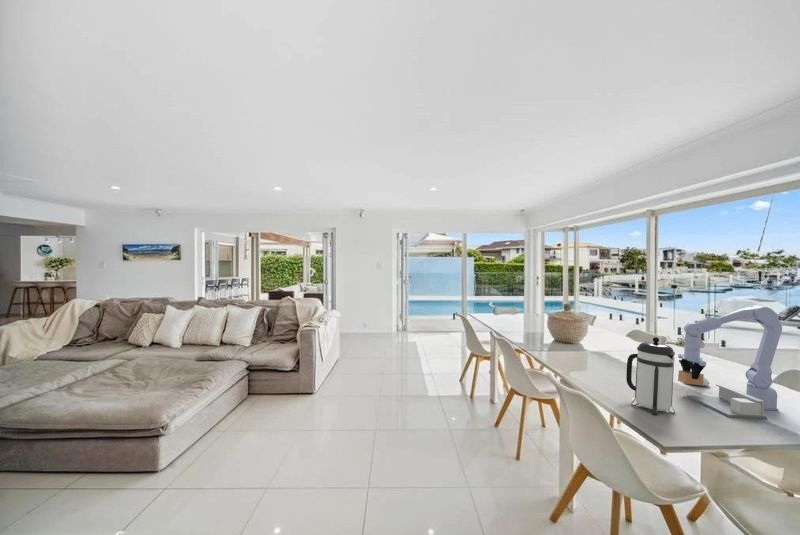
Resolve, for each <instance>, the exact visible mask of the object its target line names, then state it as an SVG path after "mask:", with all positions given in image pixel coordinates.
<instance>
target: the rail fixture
mask: <svg viewBox="0 0 800 535" xmlns="http://www.w3.org/2000/svg"><path fill="white" fill-rule="evenodd" d="M715 386H716V387H718V396H714V395H713V396H711V395H710V396H709V395H694V394H693V395H692V394H686V398H687V397H688V399H689V400H692V401H694V402H696V403H698V404H700V405H702V406H704V407H706V408H709V409H710V410H713V411H715V412H717V413H718V414H721V415H722V416H725V417H727V418H734V419H735V418H736V419H751V420H753V419H754V420H768V416H766V415H764V414H765V409H764V401H763V400H760V399H758V398H755V397H753V396H750V395H747V394H746V392H745V393H744V392H742V391H740V390H736V389H735V388H731V387H729V386H726V385H724V384H719V383H716V384H715Z"/></svg>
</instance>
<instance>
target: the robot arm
mask: <svg viewBox="0 0 800 535" xmlns="http://www.w3.org/2000/svg"><path fill="white" fill-rule="evenodd" d="M741 319H748V320H755V321H757V322H758V323H759V324H760V326H762V327H763V332H762V336H761V340H760V343H759V346H758V349H757V352H756V355H755V358H754V362H753V363H752V364H751V365H750V367H749V369H747V370H746V371H745V377H746V380H748V381H747V382H746V390H745V391H746V392H745V394H747V395H750V396H753V397H755V398H758V399H760V400H763V401H764V410H769V411H770V410H771V411H779V408H778V393H777V391H776V389H774V388H773V387H772V384H773V378H772V374H773V371H772V368H771V366H772V364H773V361H774V358H775V354H776V351H777V347H778V345H779V341H780V338H781V335H782V331H783V326H782V323H781V321H780V319H779V315H778V313H777V312H775V311H774V310H773V309H772V308H770V307H768V306H762V305H752V306H748V307H744V308H740V309H738V310H735V311H731V312H729V313H726V314H724V315H721V316H718V317H717V316H709V315H707V316H705V318H703V319H700V320H693V322H688V323H686V324H685V326H684V327H683V331H684V332H685V335H684V336H685V338H684V349H683V350H684V354H682V353H678V359H679V360H678V362H679V364H680V366H681V368H682V369H681V370H684V371H692V379H698V377H699V375H700V373H701V374H702V371H703V370H704V368H706V366H707V361H704V360H703V359H702V360H701V359H700V358H701V348H700V341H701V340H702V339H701V340H700V338H701V335H703V333H708V332H710V331H714V330H717V329H721V327H722V325H724V324H727V323H730V322H735V321H738V320H741ZM693 363H694V364H693Z"/></svg>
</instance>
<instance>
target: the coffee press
mask: <svg viewBox="0 0 800 535" xmlns="http://www.w3.org/2000/svg"><path fill="white" fill-rule="evenodd" d="M636 350H637V353H632V354H629V356H628V357H627V362H626V374H625V376H626V377H625V378H626V379H625V380H626V383H627V385H628V387H629V388H630V390H633V391H634V399H633V400H632V401H631V403H630V404H631V406H632V407H636V406H641V407H643V408H645V409H649V410H651V411H652V415H653V416H657V415H658V411H660V412H666V411H668V412H669V413H670V414H672V415H674V414H676V411H675V409H674V408H673V394H674V393H673V391H674V390H673V389H674V371H675V370H674V368H675V355H676V352H675V351H674V349H673V348H672V346H669V345H668V344H664V343H660V338H658V337H656V336H654V337H653V338H652V341H645V342H640V343H639V344H638V346H637V347H636ZM634 359H636V368H635V369H636V372H635V385H634V383H633V382H632V376H633V374H632V373H633V361H634ZM634 402H636V403H635V404H633V403H634ZM671 408H672V410H673V412H672V411H671V410H670V409H671Z"/></svg>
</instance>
